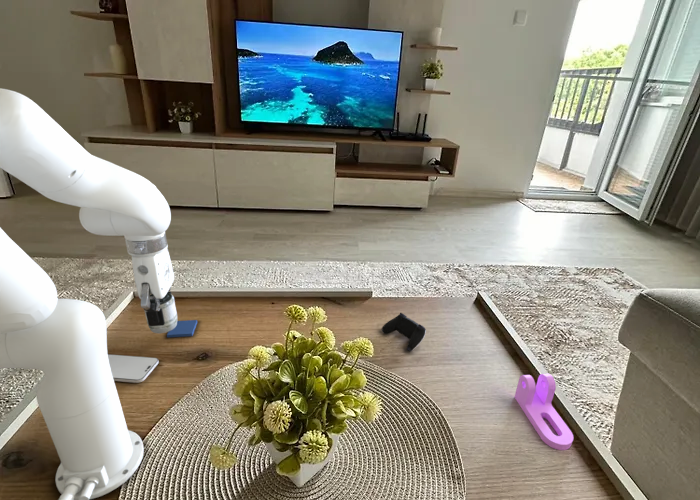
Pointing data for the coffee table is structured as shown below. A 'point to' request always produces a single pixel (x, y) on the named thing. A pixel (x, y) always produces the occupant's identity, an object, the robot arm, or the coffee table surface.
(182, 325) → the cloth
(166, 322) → the camera lens
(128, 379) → the smartphone
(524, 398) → the bracket
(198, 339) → the coffee table surface
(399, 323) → the gaming controller
